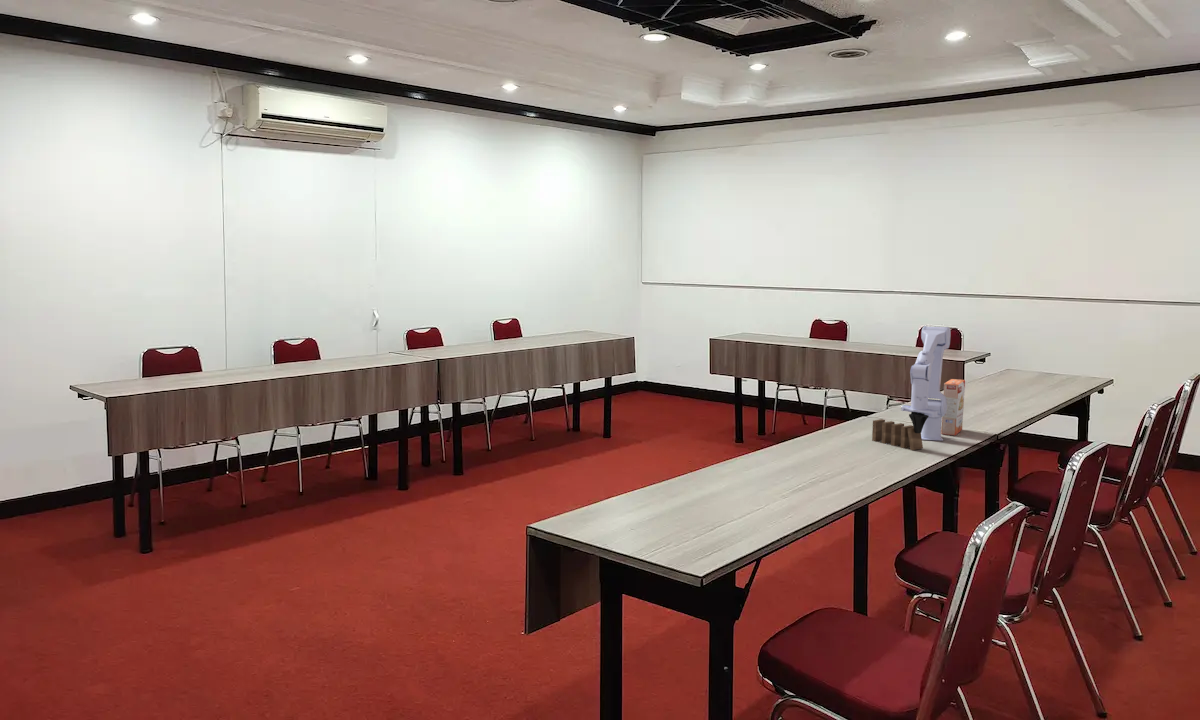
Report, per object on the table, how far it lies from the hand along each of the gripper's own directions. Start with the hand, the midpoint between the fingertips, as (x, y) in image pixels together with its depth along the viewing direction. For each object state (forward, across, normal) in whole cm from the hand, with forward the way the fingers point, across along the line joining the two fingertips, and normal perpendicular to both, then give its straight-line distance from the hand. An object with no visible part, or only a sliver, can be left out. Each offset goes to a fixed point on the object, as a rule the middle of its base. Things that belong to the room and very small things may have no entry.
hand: (918, 432), depth 315 cm
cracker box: (+7, -12, +36) cm, 39 cm away
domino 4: (+6, -5, 0) cm, 8 cm away
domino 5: (+6, 0, 0) cm, 6 cm away
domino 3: (+6, -9, 0) cm, 11 cm away
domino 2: (+6, -14, 0) cm, 15 cm away
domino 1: (+6, -18, 0) cm, 19 cm away
